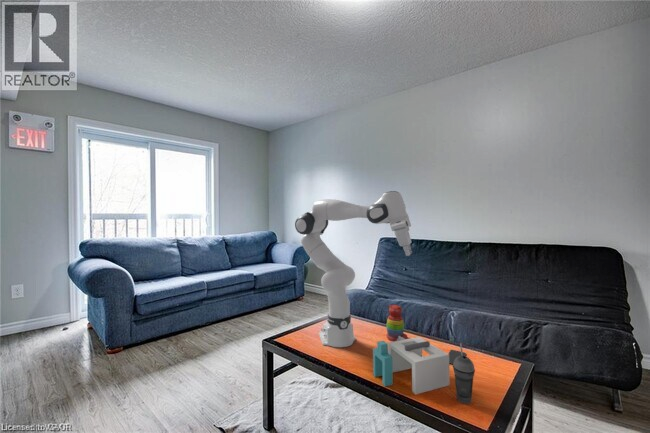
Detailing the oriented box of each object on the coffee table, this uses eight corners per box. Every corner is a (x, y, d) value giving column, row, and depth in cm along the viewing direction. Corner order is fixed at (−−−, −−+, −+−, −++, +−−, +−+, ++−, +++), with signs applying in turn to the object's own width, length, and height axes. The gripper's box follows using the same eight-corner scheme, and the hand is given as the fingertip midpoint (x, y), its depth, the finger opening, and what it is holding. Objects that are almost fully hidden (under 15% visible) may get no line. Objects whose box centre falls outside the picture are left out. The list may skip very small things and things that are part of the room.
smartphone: (466, 352, 140) (461, 365, 128) (466, 354, 140) (461, 367, 128) (450, 349, 145) (443, 361, 132) (450, 350, 145) (443, 363, 132)
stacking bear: (408, 337, 160) (408, 304, 160) (401, 344, 152) (401, 309, 151) (389, 332, 166) (389, 301, 166) (382, 339, 158) (382, 305, 158)
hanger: (373, 375, 122) (372, 339, 122) (380, 373, 124) (380, 337, 124) (384, 386, 114) (384, 348, 114) (392, 384, 115) (392, 346, 115)
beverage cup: (465, 408, 101) (464, 350, 101) (448, 396, 107) (447, 342, 107) (480, 403, 104) (479, 346, 104) (462, 391, 110) (462, 338, 110)
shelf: (388, 370, 126) (388, 338, 126) (419, 363, 131) (418, 332, 131) (415, 394, 109) (415, 356, 109) (449, 385, 115) (449, 349, 115)
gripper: (396, 227, 144) (404, 254, 142) (390, 226, 125) (399, 258, 123) (409, 223, 142) (417, 251, 140) (405, 222, 123) (414, 254, 121)
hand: (409, 254), depth 132 cm, fingers open, 8 cm apart
